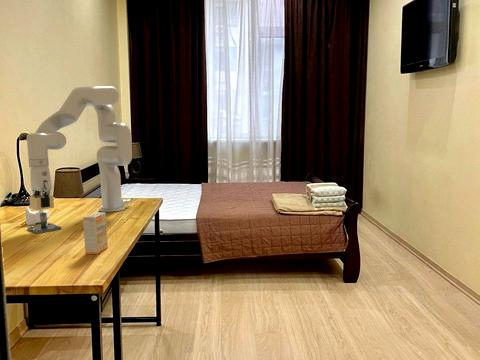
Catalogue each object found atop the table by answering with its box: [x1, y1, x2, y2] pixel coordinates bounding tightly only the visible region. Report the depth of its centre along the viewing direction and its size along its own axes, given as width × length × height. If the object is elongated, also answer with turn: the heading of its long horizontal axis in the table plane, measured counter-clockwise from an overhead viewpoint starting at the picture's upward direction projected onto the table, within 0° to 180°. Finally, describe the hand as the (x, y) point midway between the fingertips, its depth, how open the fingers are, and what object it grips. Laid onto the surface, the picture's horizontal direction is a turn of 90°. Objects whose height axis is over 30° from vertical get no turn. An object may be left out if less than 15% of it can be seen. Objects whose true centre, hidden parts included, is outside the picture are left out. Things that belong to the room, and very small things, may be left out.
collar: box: [28, 194, 55, 211], centre depth 200 cm, size 7×7×5 cm
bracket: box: [24, 206, 50, 225], centre depth 218 cm, size 13×7×8 cm, turn 11°
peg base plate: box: [27, 212, 62, 235], centre depth 202 cm, size 10×10×7 cm
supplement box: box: [82, 211, 109, 255], centre depth 168 cm, size 8×5×13 cm, turn 170°
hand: (42, 205), depth 201 cm, fingers closed on collar, 7 cm apart
